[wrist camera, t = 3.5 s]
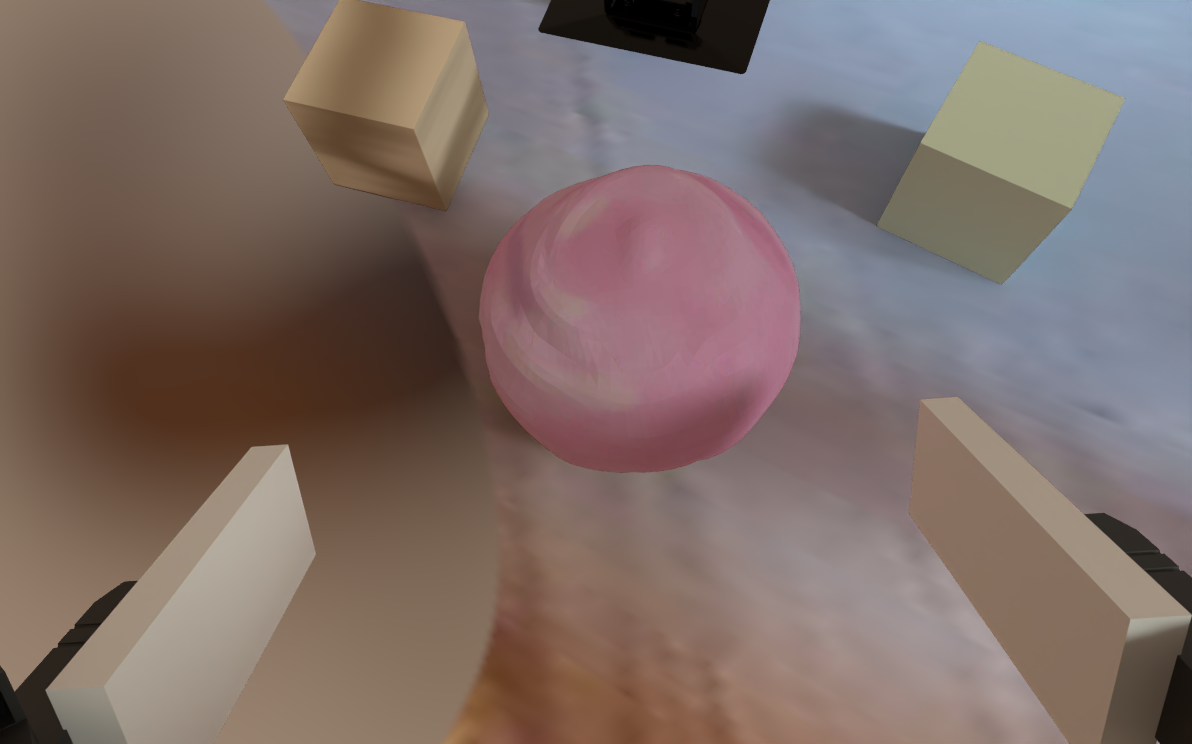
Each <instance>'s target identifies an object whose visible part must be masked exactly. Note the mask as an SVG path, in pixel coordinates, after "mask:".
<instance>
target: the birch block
mask: <svg viewBox="0 0 1192 744" xmlns="http://www.w3.org/2000/svg"><path fill="white" fill-rule="evenodd" d="M283 101H284V102H285V104H286V105H287V107H288V109H289V110H290V112H291V114H292V115H293V117H294V119H295V120H296V122H297V124H298V125H299V127H300V129H301V130H302V132H303V134H304V135H305V137H306V138H307V140H308V142H309V143H310V145H311V147H312V148H313V150H314V152H315V153H316V155H317V157H318V158H319V160H320V162H321V163H322V165H323V167H324V168H325V170H326V172H327V173H328V175H329V176H330V178H331V180H332V182H333V183H334V185H337V186H341V187H345V188H349V189H353V190H357V191H362V192H366V193H370V194H374V195H378V196H382V197H386V198H390V199H392V198H394V199H399V200H403V201H407V202H411V203H415V204H419V205H423V206H427V207H432V208H436V209H440V210H444V211H447V209H448V206H449V204H450V202H451V199H452V197H453V195H454V193H455V190H456V188H457V186H458V184H459V181H460V179H461V177H462V175H463V172H464V170H465V168H466V165H467V163H468V161H469V159H470V156H471V154H472V152H473V150H474V147H475V145H476V143H477V140H478V138H479V136H480V134H481V131H482V129H483V127H484V125H485V122H486V120H487V118H488V115H489V112H488V108H487V104H486V101H485V97H484V93H483V89H482V85H481V81H480V77H479V73H478V69H477V66H476V62H475V58H474V54H473V50H472V46H471V42H470V38H469V35H468V31H467V27H466V23H465V22H464V21H459V20H454V19H449V18H444V17H439V16H434V15H429V14H424V13H419V12H414V11H409V10H404V9H399V8H394V7H389V6H384V5H379V4H374V3H369V2H364V1H359V0H339V1H338V3H337V5H336V7H335V9H334V10H333V12H332V14H331V16H330V17H329V19H328V21H327V23H326V24H325V26H324V28H323V30H322V32H321V33H320V35H319V37H318V39H317V40H316V42H315V44H314V46H313V47H312V49H311V51H310V53H309V54H308V56H307V58H306V60H305V62H304V63H303V65H302V67H301V69H300V70H299V72H298V74H297V76H296V77H295V79H294V81H293V83H292V85H291V86H290V88H289V90H288V92H287V93H286V95H285V97H284V99H283Z"/></svg>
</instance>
